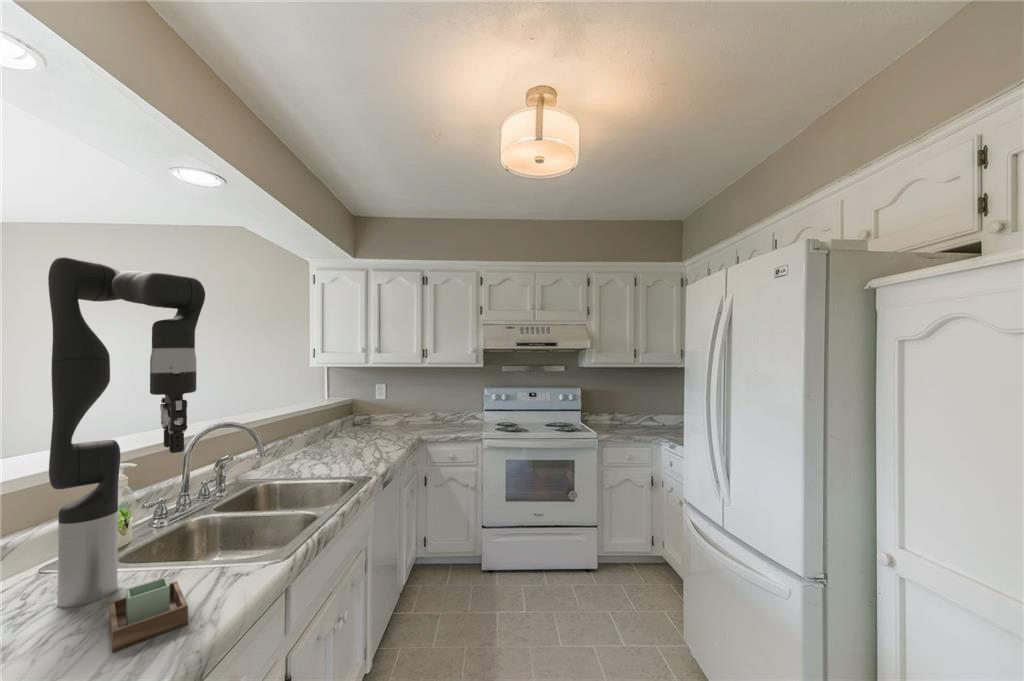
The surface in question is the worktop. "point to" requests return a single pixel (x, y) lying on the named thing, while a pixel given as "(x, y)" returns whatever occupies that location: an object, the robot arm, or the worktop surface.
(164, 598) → the small crate
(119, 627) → the big crate
